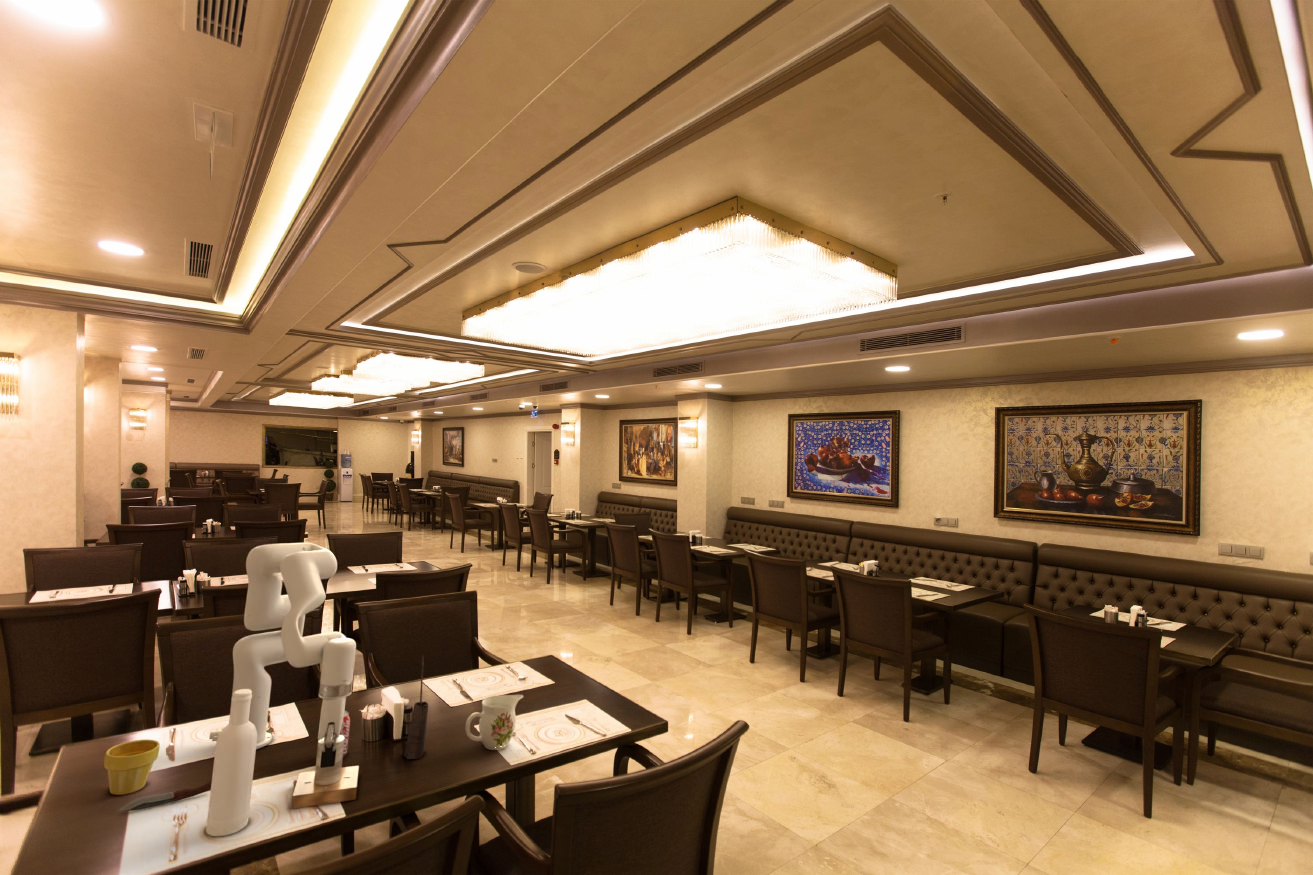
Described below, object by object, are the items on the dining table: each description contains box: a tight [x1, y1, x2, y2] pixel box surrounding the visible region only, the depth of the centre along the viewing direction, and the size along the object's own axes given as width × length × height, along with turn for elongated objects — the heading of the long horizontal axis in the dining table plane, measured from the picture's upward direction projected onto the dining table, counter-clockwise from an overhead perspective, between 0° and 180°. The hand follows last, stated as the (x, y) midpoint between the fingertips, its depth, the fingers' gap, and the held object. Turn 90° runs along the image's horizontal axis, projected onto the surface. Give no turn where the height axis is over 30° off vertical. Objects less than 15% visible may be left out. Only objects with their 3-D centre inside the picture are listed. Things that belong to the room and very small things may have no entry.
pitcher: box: [465, 694, 524, 751], centre depth 184 cm, size 11×18×14 cm, turn 127°
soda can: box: [340, 710, 351, 757], centre depth 171 cm, size 7×7×12 cm
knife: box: [117, 780, 212, 812], centre depth 143 cm, size 18×2×3 cm, turn 131°
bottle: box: [205, 689, 257, 837], centre depth 136 cm, size 8×8×30 cm
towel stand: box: [290, 765, 360, 809], centre depth 152 cm, size 14×12×3 cm
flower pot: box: [103, 739, 161, 796], centre depth 149 cm, size 10×10×10 cm
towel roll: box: [314, 735, 345, 786], centre depth 153 cm, size 6×6×10 cm
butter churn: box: [404, 655, 429, 760], centre depth 175 cm, size 9×10×28 cm
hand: (328, 759), depth 153 cm, fingers closed on towel roll, 6 cm apart
